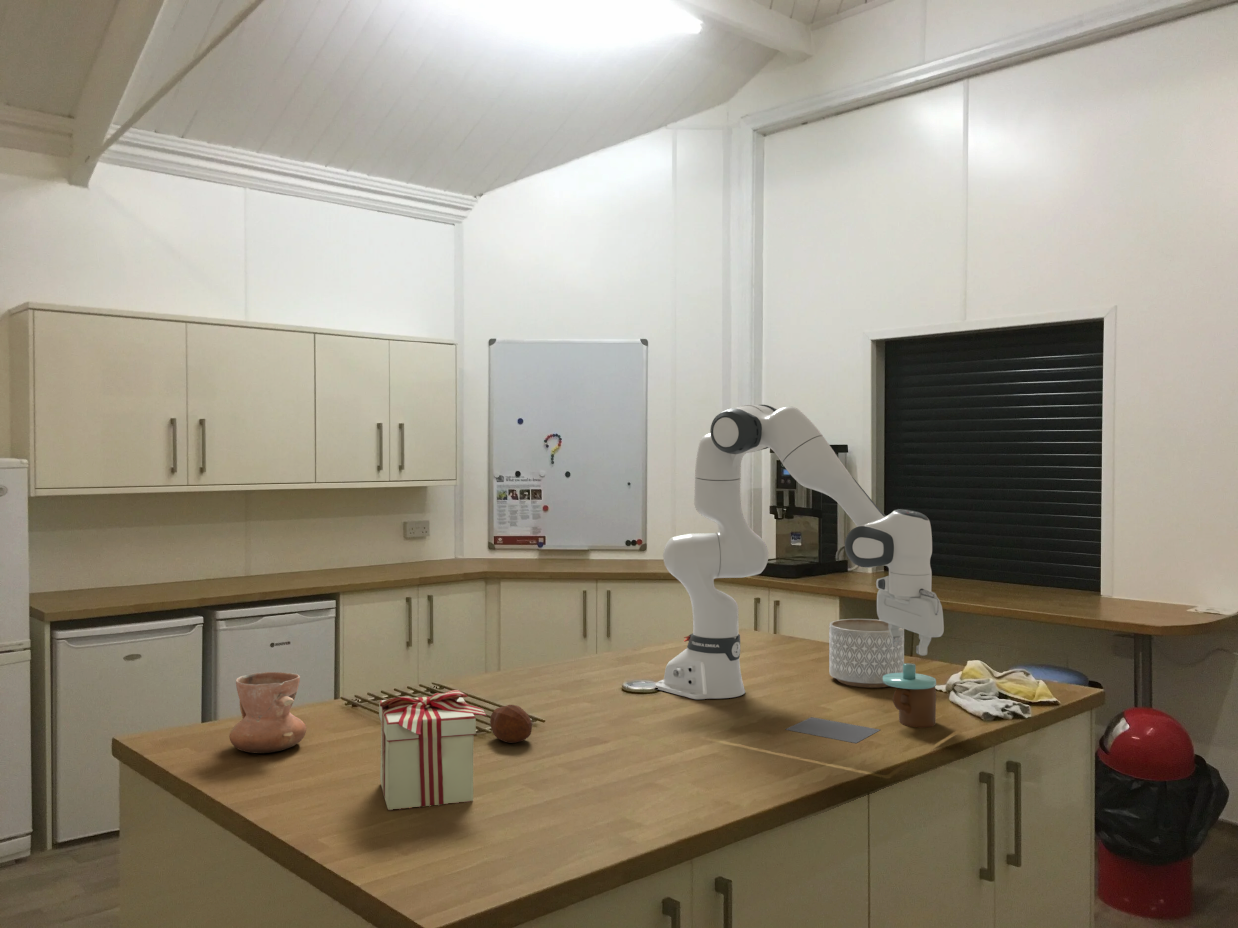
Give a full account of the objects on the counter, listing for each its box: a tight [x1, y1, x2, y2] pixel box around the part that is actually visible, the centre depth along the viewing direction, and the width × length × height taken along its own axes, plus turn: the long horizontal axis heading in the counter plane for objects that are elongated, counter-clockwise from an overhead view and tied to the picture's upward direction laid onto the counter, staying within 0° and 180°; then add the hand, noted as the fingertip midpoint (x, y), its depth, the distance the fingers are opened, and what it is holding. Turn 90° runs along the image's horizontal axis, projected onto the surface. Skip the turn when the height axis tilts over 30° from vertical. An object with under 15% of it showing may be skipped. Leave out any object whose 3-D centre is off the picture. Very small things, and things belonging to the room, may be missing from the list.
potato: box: [489, 704, 533, 744], centre depth 203 cm, size 8×11×8 cm
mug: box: [892, 686, 937, 728], centre depth 212 cm, size 12×8×9 cm, turn 130°
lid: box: [883, 662, 937, 689], centre depth 213 cm, size 11×11×4 cm
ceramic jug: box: [228, 671, 307, 754], centre depth 199 cm, size 18×14×14 cm
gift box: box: [378, 689, 487, 811], centre depth 171 cm, size 17×18×17 cm
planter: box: [828, 618, 905, 688], centre depth 255 cm, size 19×19×14 cm
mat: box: [785, 716, 881, 744], centre depth 209 cm, size 16×12×1 cm
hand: (908, 649), depth 213 cm, fingers open, 8 cm apart
